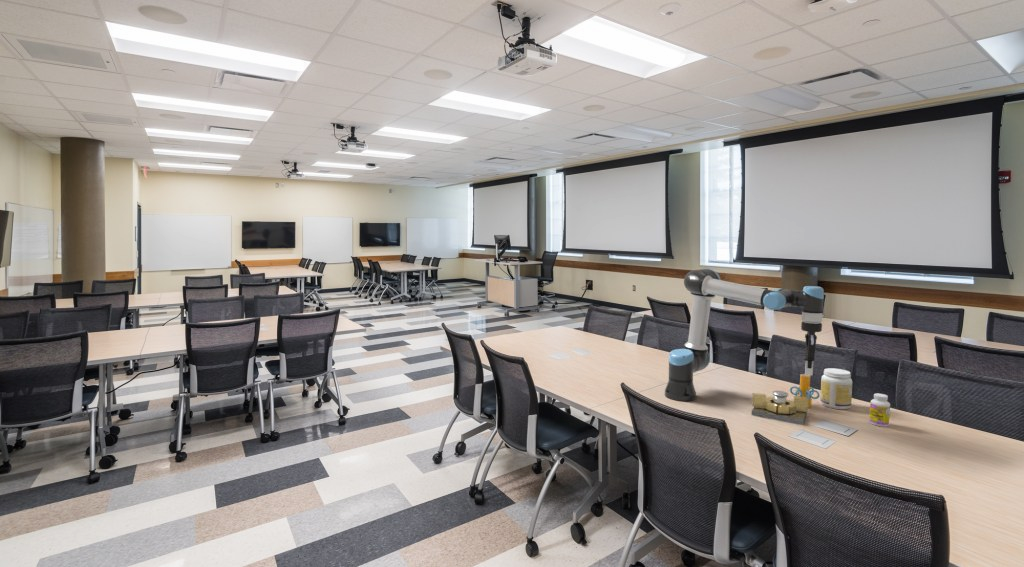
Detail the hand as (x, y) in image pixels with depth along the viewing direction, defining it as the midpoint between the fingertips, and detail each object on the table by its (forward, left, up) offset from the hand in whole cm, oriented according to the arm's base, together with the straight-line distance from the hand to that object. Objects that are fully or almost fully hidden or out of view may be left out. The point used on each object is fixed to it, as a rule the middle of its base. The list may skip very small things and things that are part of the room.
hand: (808, 374), depth 205 cm
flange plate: (-10, 0, -20) cm, 23 cm away
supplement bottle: (+26, +11, -20) cm, 34 cm away
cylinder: (-2, +18, -20) cm, 27 cm away
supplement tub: (+10, +27, -20) cm, 35 cm away
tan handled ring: (-10, 0, -18) cm, 20 cm away
